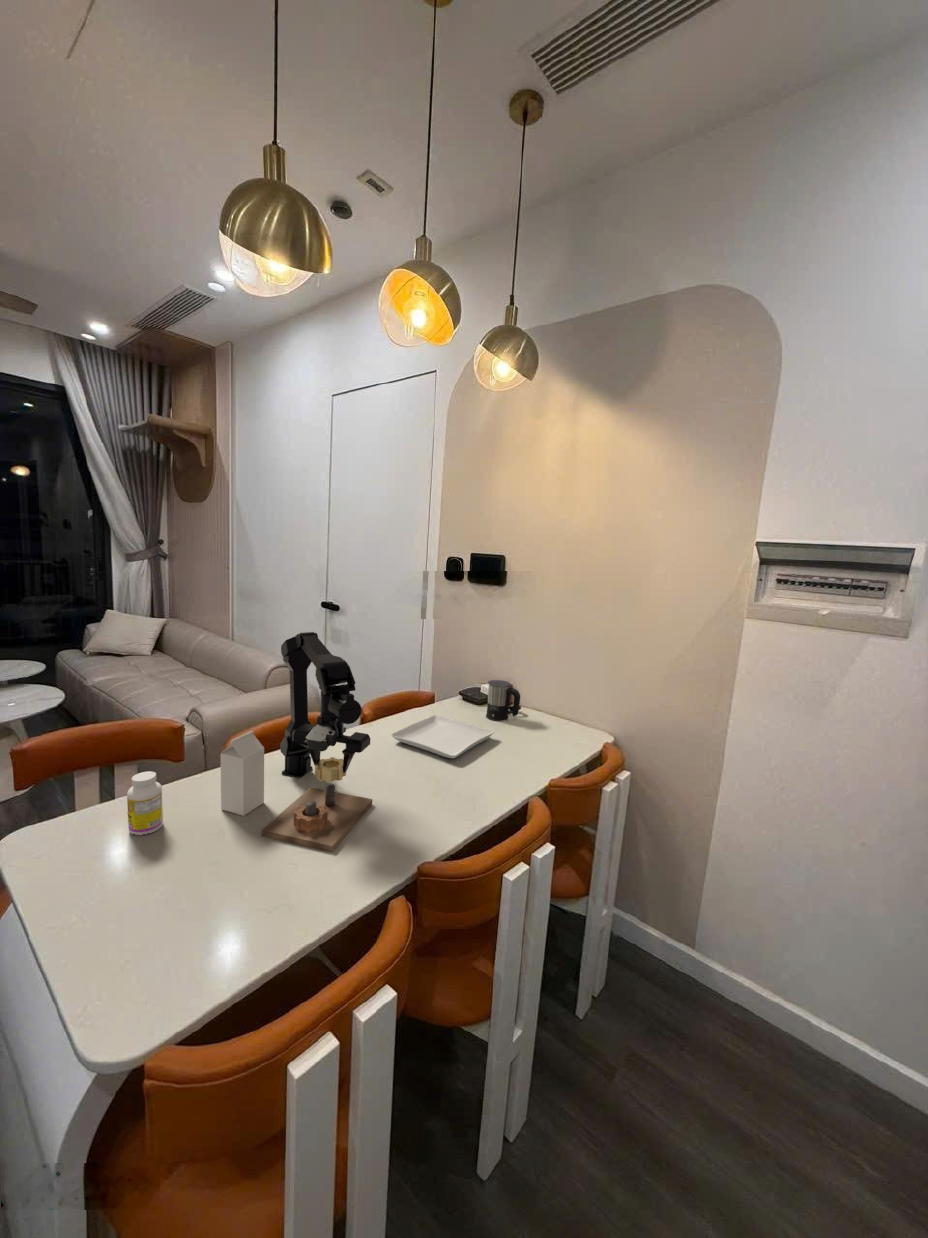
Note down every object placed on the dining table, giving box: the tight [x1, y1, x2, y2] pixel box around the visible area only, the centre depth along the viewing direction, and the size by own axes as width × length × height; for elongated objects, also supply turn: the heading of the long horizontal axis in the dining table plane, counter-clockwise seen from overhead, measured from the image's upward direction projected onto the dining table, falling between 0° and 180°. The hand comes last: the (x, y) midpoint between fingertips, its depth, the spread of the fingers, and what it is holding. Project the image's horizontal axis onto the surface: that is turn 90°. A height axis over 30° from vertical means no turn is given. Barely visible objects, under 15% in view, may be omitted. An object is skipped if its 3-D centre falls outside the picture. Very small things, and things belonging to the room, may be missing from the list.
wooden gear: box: [314, 756, 347, 784], centre depth 121 cm, size 7×7×3 cm
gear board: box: [261, 783, 373, 853], centre depth 118 cm, size 18×21×6 cm
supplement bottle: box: [126, 770, 164, 836], centre depth 109 cm, size 7×7×13 cm
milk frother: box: [485, 679, 522, 722], centre depth 200 cm, size 14×16×15 cm
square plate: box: [390, 714, 495, 759], centre depth 170 cm, size 27×27×4 cm
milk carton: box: [220, 730, 265, 817], centre depth 120 cm, size 7×7×19 cm
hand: (330, 769), depth 121 cm, fingers closed on wooden gear, 7 cm apart
